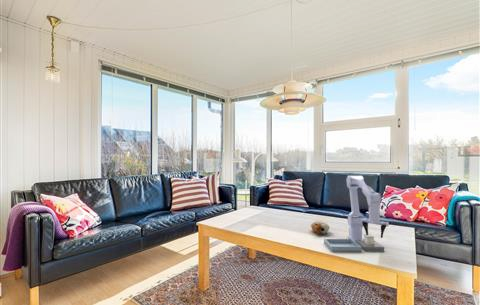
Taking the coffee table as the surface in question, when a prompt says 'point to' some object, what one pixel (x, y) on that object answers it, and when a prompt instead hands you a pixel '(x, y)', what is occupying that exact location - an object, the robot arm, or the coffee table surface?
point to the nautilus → (320, 227)
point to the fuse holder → (370, 246)
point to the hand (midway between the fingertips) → (374, 236)
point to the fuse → (368, 239)
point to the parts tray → (342, 245)
